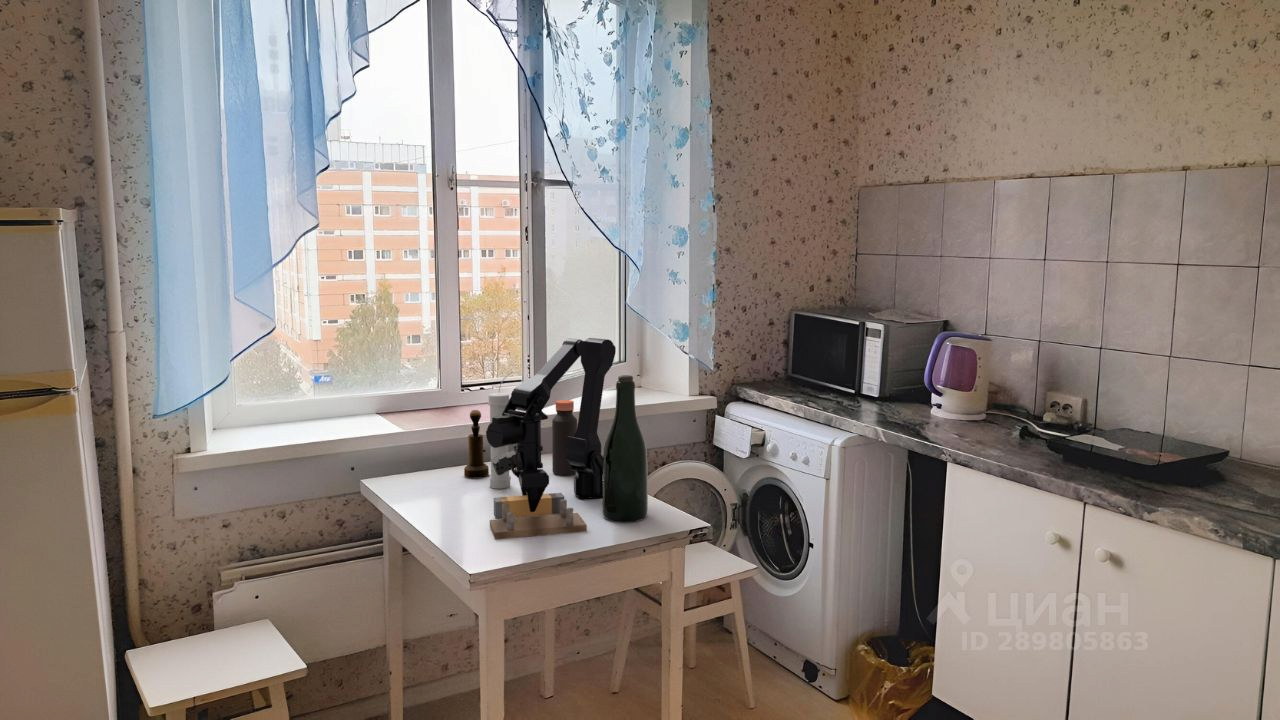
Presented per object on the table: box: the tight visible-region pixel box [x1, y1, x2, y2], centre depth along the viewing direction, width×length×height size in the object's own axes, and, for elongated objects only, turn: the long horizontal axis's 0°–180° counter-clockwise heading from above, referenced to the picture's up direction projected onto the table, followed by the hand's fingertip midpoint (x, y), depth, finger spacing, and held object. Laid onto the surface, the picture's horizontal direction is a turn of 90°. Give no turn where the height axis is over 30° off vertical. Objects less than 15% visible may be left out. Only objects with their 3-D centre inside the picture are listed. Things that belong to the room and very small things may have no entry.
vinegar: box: [551, 399, 578, 477], centre depth 242 cm, size 7×7×20 cm
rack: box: [489, 499, 588, 540], centre depth 195 cm, size 20×9×5 cm, turn 107°
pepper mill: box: [463, 409, 490, 479], centre depth 239 cm, size 7×6×18 cm
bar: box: [492, 492, 565, 520], centre depth 206 cm, size 16×4×4 cm, turn 107°
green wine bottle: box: [602, 374, 649, 523], centre depth 203 cm, size 10×10×33 cm
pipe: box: [487, 371, 513, 490], centre depth 227 cm, size 6×6×30 cm
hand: (529, 506), depth 206 cm, fingers open, 9 cm apart
